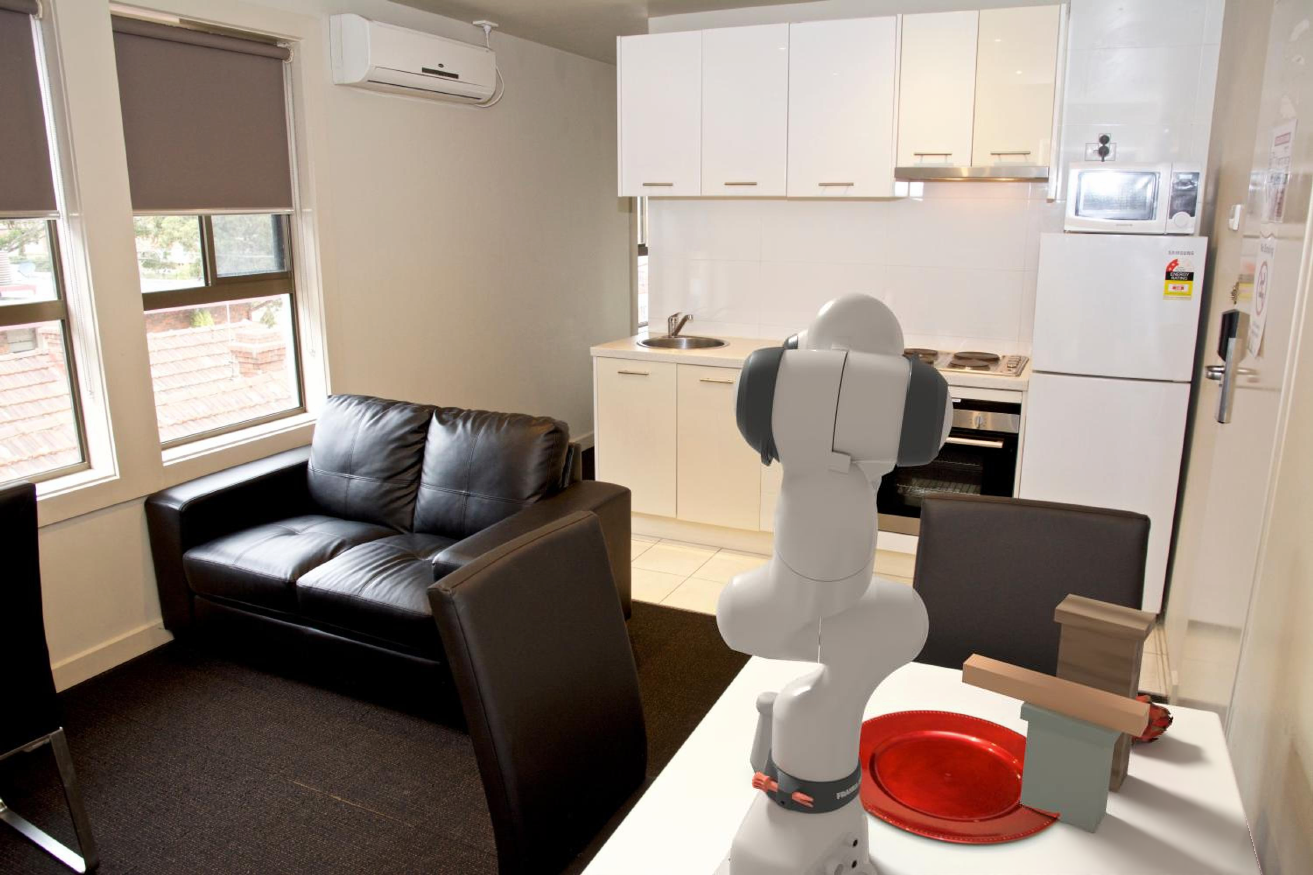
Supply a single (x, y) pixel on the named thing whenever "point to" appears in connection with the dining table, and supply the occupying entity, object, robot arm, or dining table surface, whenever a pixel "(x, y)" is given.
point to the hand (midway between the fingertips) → (855, 510)
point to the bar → (1057, 694)
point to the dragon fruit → (1154, 721)
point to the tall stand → (1104, 656)
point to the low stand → (1067, 766)
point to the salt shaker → (763, 731)
